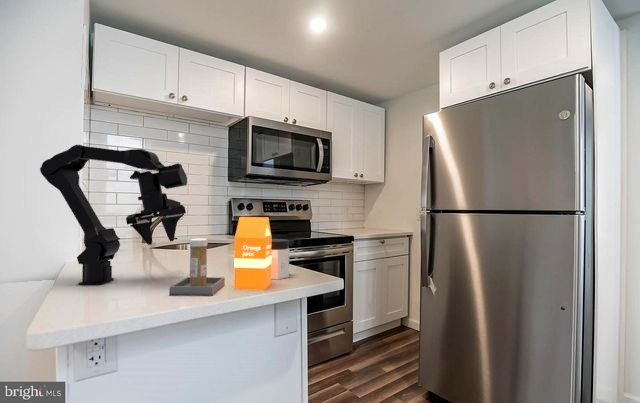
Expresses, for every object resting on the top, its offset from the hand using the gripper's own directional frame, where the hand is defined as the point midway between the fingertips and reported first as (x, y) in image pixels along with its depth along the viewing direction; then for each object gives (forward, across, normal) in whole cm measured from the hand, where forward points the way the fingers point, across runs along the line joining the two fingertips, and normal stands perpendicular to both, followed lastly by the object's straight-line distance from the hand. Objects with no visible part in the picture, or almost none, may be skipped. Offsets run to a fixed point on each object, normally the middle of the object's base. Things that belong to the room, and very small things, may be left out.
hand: (160, 243), depth 96 cm
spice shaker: (+14, -14, +2) cm, 20 cm away
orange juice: (+17, -25, -7) cm, 31 cm away
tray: (+14, -14, +3) cm, 20 cm away
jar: (+18, -24, -20) cm, 37 cm away
